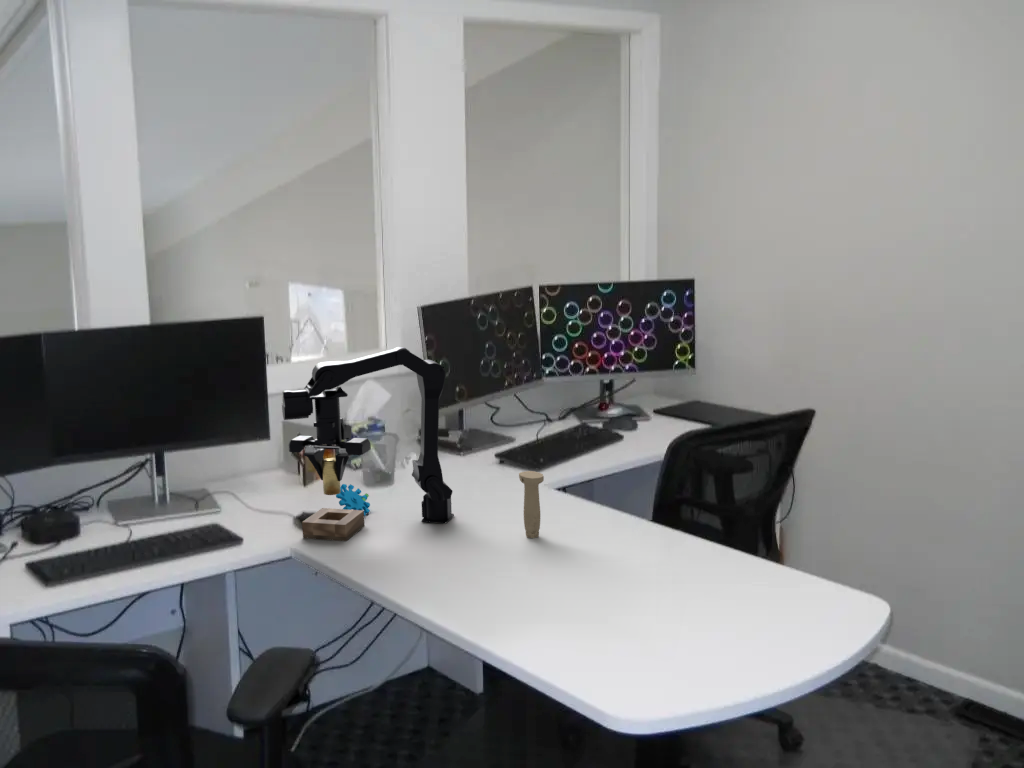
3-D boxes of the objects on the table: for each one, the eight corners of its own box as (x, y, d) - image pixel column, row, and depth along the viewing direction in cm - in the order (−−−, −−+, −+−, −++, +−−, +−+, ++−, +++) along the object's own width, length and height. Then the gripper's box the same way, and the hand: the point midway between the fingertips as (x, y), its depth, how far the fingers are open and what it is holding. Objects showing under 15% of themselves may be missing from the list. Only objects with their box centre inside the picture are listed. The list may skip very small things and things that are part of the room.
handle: (531, 542, 230) (530, 479, 227) (516, 534, 235) (514, 473, 233) (548, 538, 233) (547, 475, 230) (533, 530, 238) (532, 470, 235)
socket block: (364, 526, 244) (363, 510, 243) (346, 541, 234) (345, 524, 233) (323, 523, 247) (322, 508, 246) (303, 538, 236) (302, 522, 236)
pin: (343, 490, 240) (341, 458, 238) (336, 495, 236) (334, 462, 235) (328, 489, 241) (326, 457, 239) (320, 494, 237) (318, 461, 236)
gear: (352, 516, 247) (332, 484, 250) (339, 530, 249) (318, 498, 252) (381, 510, 256) (360, 479, 259) (367, 524, 258) (347, 493, 262)
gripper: (377, 410, 240) (381, 473, 243) (306, 407, 245) (310, 469, 248) (359, 420, 230) (363, 485, 233) (285, 417, 234) (289, 482, 237)
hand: (331, 480), depth 238 cm, fingers closed on pin, 4 cm apart
